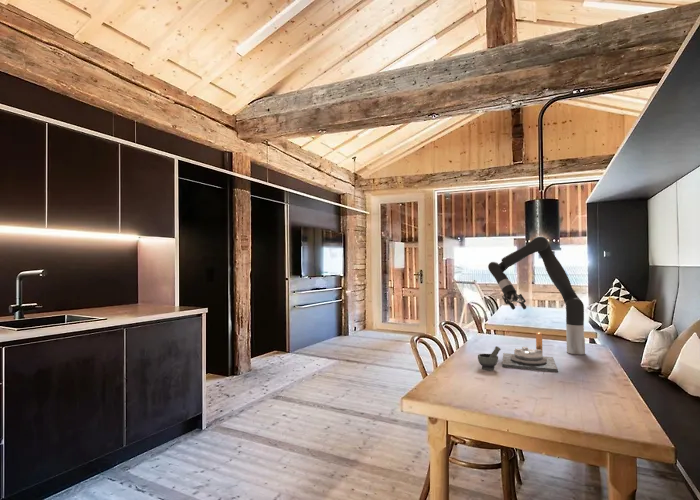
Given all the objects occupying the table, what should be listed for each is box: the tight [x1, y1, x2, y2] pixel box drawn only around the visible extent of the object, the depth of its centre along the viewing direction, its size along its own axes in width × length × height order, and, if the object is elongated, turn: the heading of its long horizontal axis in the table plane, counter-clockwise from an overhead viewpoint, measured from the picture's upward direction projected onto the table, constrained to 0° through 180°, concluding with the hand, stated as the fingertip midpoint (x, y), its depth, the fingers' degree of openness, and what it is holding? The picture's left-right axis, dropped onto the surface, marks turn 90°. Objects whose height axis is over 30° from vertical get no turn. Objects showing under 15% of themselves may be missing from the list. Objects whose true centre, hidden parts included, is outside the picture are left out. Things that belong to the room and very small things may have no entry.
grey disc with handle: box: [513, 332, 544, 361], centre depth 214 cm, size 21×14×12 cm
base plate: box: [501, 352, 559, 373], centre depth 212 cm, size 26×26×3 cm
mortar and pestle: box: [477, 346, 502, 372], centre depth 201 cm, size 11×9×12 cm
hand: (519, 308), depth 238 cm, fingers open, 8 cm apart
